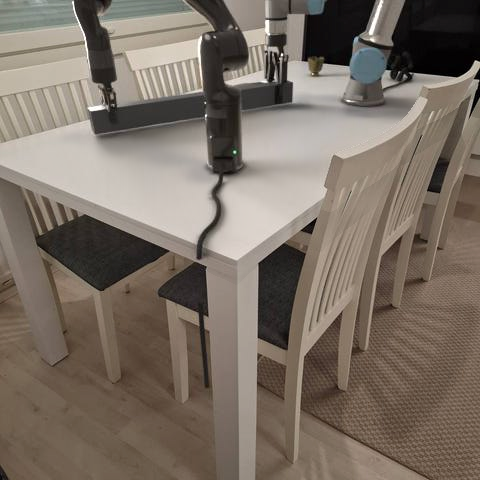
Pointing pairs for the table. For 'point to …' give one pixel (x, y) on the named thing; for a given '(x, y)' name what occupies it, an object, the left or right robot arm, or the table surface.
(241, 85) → the spray bottle
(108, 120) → the bar
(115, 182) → the table surface
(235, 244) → the table surface
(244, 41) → the left robot arm
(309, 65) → the cup
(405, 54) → the squiggle
